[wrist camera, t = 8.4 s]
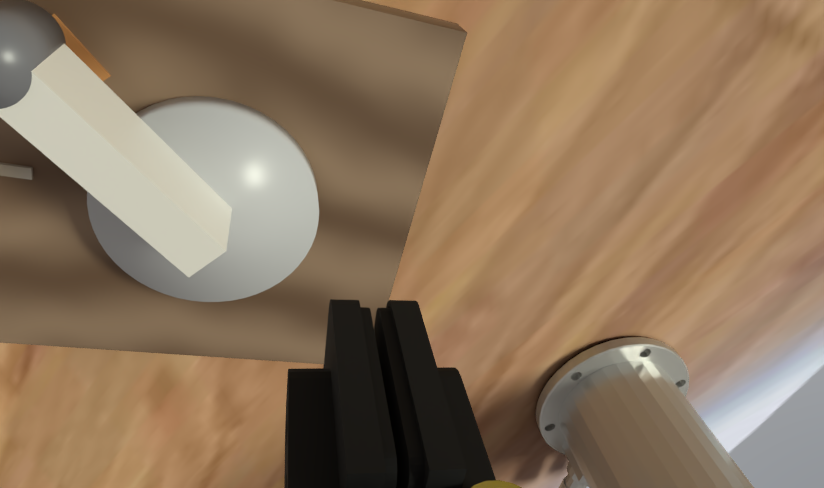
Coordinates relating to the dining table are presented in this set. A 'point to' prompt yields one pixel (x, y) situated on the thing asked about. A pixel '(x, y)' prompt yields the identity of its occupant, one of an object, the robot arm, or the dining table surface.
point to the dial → (162, 170)
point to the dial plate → (276, 98)
